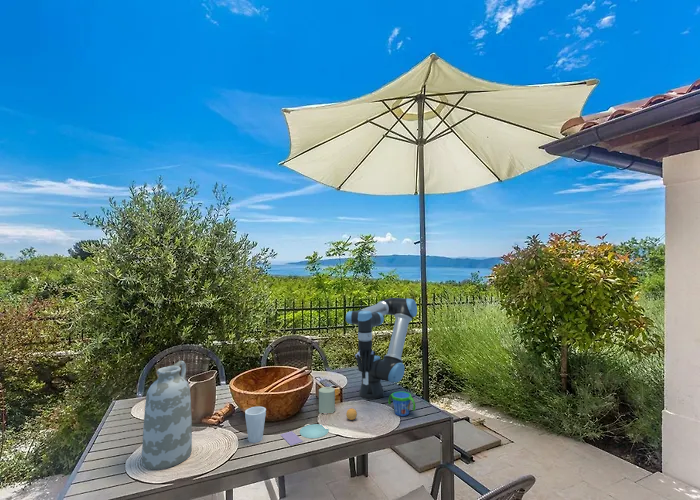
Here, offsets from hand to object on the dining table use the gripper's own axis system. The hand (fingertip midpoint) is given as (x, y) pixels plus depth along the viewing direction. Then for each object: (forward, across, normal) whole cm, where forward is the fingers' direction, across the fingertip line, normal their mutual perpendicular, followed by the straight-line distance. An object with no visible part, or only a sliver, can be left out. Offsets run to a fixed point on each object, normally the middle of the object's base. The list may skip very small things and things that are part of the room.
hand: (365, 384), depth 183 cm
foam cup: (+17, -57, +9) cm, 60 cm away
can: (+17, -14, +17) cm, 28 cm away
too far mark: (+16, -43, 0) cm, 46 cm away
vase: (+17, -92, +16) cm, 95 cm away
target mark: (+16, -31, 0) cm, 35 cm away
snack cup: (+17, +17, -10) cm, 25 cm away
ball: (+14, -9, 0) cm, 16 cm away
